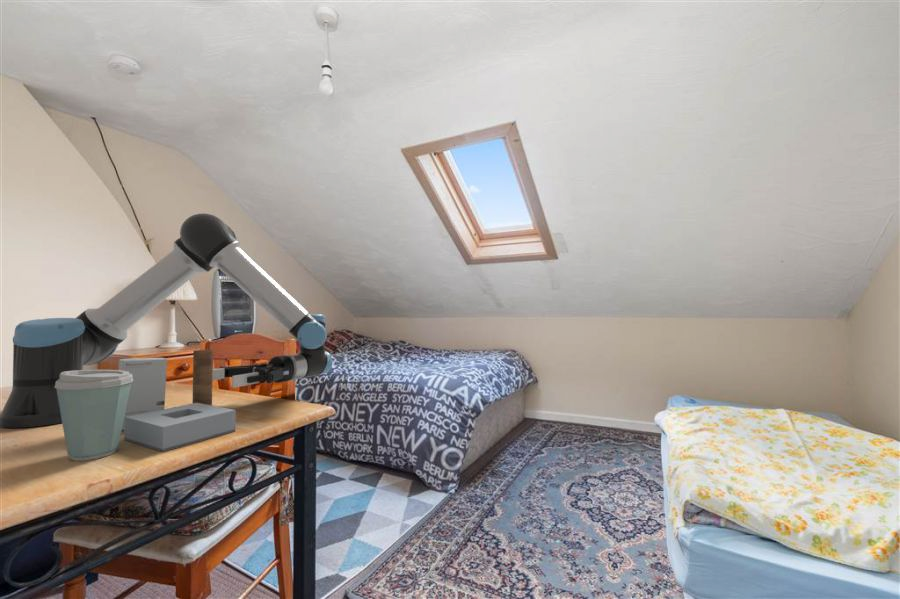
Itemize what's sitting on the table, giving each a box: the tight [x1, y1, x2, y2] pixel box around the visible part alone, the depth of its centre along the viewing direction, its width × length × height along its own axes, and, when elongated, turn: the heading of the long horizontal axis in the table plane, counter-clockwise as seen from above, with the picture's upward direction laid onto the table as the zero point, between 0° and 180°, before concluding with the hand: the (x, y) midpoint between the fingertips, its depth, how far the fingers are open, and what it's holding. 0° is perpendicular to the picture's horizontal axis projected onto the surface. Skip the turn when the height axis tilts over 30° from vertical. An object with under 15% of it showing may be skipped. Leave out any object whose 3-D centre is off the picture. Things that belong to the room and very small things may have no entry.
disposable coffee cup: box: [55, 369, 133, 462], centre depth 71 cm, size 11×11×15 cm
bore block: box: [123, 403, 236, 453], centre depth 82 cm, size 14×14×4 cm
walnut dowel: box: [191, 349, 214, 406], centre depth 96 cm, size 4×4×16 cm
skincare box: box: [118, 357, 168, 432], centre depth 90 cm, size 8×6×15 cm
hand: (215, 379), depth 98 cm, fingers open, 13 cm apart
